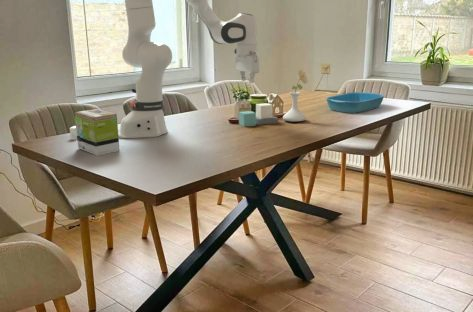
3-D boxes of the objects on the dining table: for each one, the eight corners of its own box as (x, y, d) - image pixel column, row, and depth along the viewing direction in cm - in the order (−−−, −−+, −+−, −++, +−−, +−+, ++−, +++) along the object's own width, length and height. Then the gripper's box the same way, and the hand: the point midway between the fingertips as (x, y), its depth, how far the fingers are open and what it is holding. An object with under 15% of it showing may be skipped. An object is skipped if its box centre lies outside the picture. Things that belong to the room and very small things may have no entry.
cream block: (260, 118, 230) (260, 105, 228) (255, 116, 235) (255, 104, 233) (272, 117, 232) (272, 104, 230) (267, 115, 237) (267, 103, 236)
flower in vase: (294, 124, 228) (295, 70, 221) (277, 121, 236) (278, 69, 230) (313, 120, 236) (315, 68, 229) (296, 117, 244) (297, 67, 237)
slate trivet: (258, 124, 228) (258, 119, 227) (250, 120, 237) (250, 115, 236) (277, 122, 231) (278, 117, 231) (269, 119, 240) (269, 114, 240)
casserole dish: (354, 116, 247) (355, 102, 245) (318, 111, 263) (318, 97, 261) (390, 107, 272) (390, 94, 270) (355, 102, 288) (355, 90, 286)
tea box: (77, 149, 187) (73, 111, 183) (100, 144, 194) (97, 108, 190) (96, 156, 177) (93, 116, 173) (120, 151, 184) (117, 112, 180)
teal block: (243, 126, 224) (243, 114, 223) (239, 124, 230) (238, 111, 228) (255, 125, 226) (255, 113, 225) (250, 123, 232) (250, 111, 230)
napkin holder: (86, 132, 217) (85, 120, 216) (101, 136, 210) (99, 123, 208) (55, 139, 207) (54, 125, 205) (69, 143, 199) (67, 129, 198)
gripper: (262, 51, 211) (262, 83, 214) (244, 49, 229) (245, 79, 233) (249, 52, 208) (249, 84, 212) (232, 50, 227) (232, 79, 231)
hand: (247, 81), depth 223 cm, fingers open, 8 cm apart
